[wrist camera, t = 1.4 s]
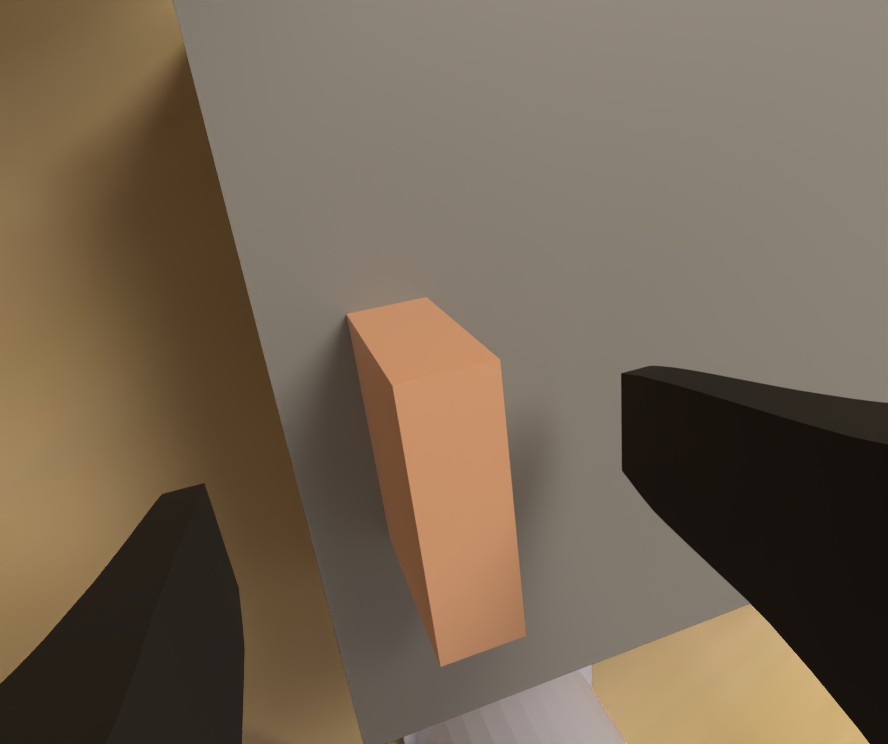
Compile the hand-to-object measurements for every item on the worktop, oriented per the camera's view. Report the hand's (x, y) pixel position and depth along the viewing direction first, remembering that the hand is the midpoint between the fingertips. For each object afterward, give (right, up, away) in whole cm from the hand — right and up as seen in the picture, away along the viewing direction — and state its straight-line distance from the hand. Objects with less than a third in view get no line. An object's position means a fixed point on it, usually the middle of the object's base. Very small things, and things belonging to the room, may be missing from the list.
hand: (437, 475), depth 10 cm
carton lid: (+8, +3, +5) cm, 9 cm away
